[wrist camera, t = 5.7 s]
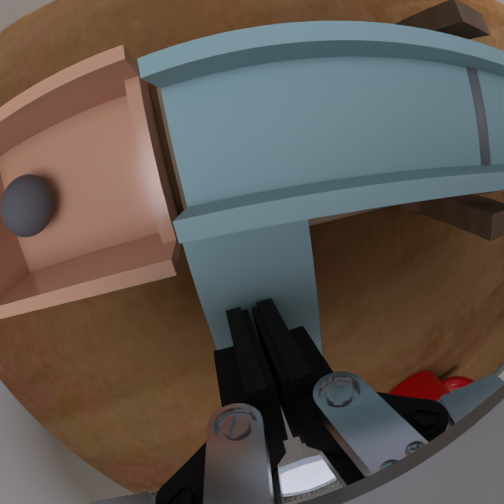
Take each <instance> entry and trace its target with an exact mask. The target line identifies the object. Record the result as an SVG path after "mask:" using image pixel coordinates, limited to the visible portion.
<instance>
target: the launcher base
mask: <svg viewBox="0 0 504 504" xmlns="http://www.w3.org/2000/svg"><path fill="white" fill-rule="evenodd" d="M396 25H404V26H411V27H417V28H422V29H428V30H433V31H437V32H442V33H446V34H450V35H454V36H458V37H462V38H465V39H472V38H477V37H482V36H487V35H490V34H489V31H488V28H487V26H486V23H485V20H484V18H483V15H482V14H481V13H480V12H478V11H476V10H474V9H473V8H471V7H469V6H467V5H465V4H463V3H461V2H459V1H457V0H449V1H446V2H443V3H441V4H438V5H436V6H433V7H431V8H429V9H426V10H424V11H422V12H420V13H417V14H415V15H413V16H411V17H409V18H407V19H404V20H402V21H400V22H398V23H396ZM156 88H157V93H158V98H159V103H160V108H161V113H162V118H163V123H164V128H165V132H166V137H167V142H168V146H169V151H170V155H171V159H172V164H173V168H174V172H175V176H176V180H177V184H178V188H179V193H180V196H181V200H182V204H183V208H184V210H185V209H186V208H187V204H186V200H185V196H184V192H183V188H182V184H181V180H180V176H179V172H178V167H177V163H176V159H175V154H174V150H173V146H172V141H171V137H170V132H169V127H168V123H167V118H166V113H165V108H164V103H163V98H162V93H161V89H160V88H158V87H156ZM392 206H396V205H392ZM397 206H400V207H403V208H406V209H409V210H412V211H415V212H418V213H421V214H424V215H426V216H429V217H432V218H435V219H437V220H440V221H443V222H445V223H448V224H451V225H453V226H456V227H458V228H461V229H463V230H466V231H468V232H471V233H473V234H475V235H478V236H480V237H483V238H485V239H487V240H489V241H491V240H493V239H495V238H498V237H500V236H502V235H504V203H502V202H498V201H495V200H492V199H488V198H485V197H481V196H478V195H474V194H468V195H460V196H453V197H446V198H439V199H432V200H425V201H418V202H411V203H405V204H398V205H397ZM387 207H391V206H385V207H379V208H373V209H366V210H360V211H354V212H348V213H342V214H336V215H330V216H324V217H318V218H313V219H308V224H309V226H311V225H315V224H319V223H323V222H327V221H332V220H336V219H340V218H344V217H348V216H353V215H357V214H361V213H365V212H370V211H374V210H378V209H383V208H387Z"/></svg>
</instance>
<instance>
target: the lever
mask: <svg viewBox="0 0 504 504" xmlns="http://www.w3.org/2000/svg"><path fill="white" fill-rule="evenodd" d="M138 66H139V72H140V78H141V79H143V80H145V81H147V82H149V83H151V84H153V85H155V86H156V87H158V88H160V89H161V93H162V98H163V103H164V108H165V113H166V118H167V123H168V127H169V132H170V137H171V141H172V146H173V150H174V154H175V159H176V163H177V167H178V172H179V176H180V180H181V184H182V188H183V192H184V196H185V200H186V204H187V208H186V209H185V210H184V211H183V212H182V213H181V214H180V215H179V216H178V217H177V218H176V219H175V220H174V221H173V224H174V228H175V231H176V235H177V238H178V242H179V244H180V243H182V244H183V247H184V251H185V254H186V258H187V261H188V264H189V268H190V271H191V274H192V277H193V280H194V284H195V287H196V290H197V293H198V296H199V299H200V302H201V305H202V308H203V311H204V314H205V317H206V320H207V323H208V326H209V329H210V332H211V335H212V337H213V340H214V343H215V346H216V349H217V350H219V349H223V348H227V347H231V346H233V341H232V337H231V333H230V329H229V324H228V320H227V315H226V310H229V309H233V308H237V307H240V308H241V310H245V309H247V310H248V312H249V315H250V318H251V321H252V323H253V326H254V329H255V332H256V334H257V337H258V333H257V329H256V325H255V321H254V317H253V313H252V307H256V306H257V305H256V302H259V301H262V300H266V299H269V298H271V299H272V300H273V302H274V304H275V306H276V308H277V309H278V311H279V313H280V315H281V317H282V319H283V320H284V322H285V324H286V326H287V328H288V329H289V330H291V329H294V328H297V327H300V326H303V327H304V328H305V329H306V331H307V332H308V334H309V335H310V337H311V339H312V340H313V342H314V343H315V345H316V346H317V348H318V350H319V351H320V353H321V354H322V344H321V331H320V319H319V309H318V298H317V289H316V280H315V271H314V262H313V254H312V246H311V239H310V232H309V224H308V219H313V218H318V217H324V216H330V215H336V214H342V213H348V212H354V211H360V210H366V209H373V208H379V207H385V206H392V205H398V204H405V203H411V202H418V201H425V200H432V199H439V198H446V197H453V196H460V195H468V194H475V193H483V194H486V193H491V192H492V191H499V190H504V51H501V50H499V49H496V48H493V47H490V46H488V45H485V44H482V43H479V42H475V41H472V40H469V39H465V38H462V37H458V36H454V35H450V34H446V33H442V32H437V31H433V30H428V29H422V28H417V27H411V26H404V25H396V24H387V23H377V22H362V21H308V22H293V23H282V24H273V25H265V26H258V27H251V28H245V29H240V30H234V31H229V32H224V33H220V34H215V35H211V36H207V37H203V38H199V39H195V40H192V41H188V42H185V43H181V44H178V45H175V46H172V47H169V48H165V49H163V50H160V51H157V52H154V53H151V54H148V55H146V56H143V57H140V58H138ZM258 340H259V337H258ZM259 342H260V341H259Z"/></svg>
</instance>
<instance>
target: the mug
mask: <svg viewBox="0 0 504 504" xmlns="http://www.w3.org/2000/svg"><path fill="white" fill-rule="evenodd" d="M473 382H475V381H473V380H472V379H469V378H467V377H462V376H454V377H449V378H446V379H443V380H442V381H440V380H439V379H438V378H437V377H436V376H435V375H434V374H433V373H432V372H431V371H427V370H426V371H421V372H418V373H416V374H414V375H412V376H410V377H408V378H407V379H405V380H404V381H402V382H401V383H400V384H398V385H397V386H396V387H395V388H394V389H393V390H392V391H391V392H390V393H389V394H392V395H399V396H406V397H414V398H422V399H430V400H434V401H437V400H440V398H441V396H443V395H445V394H448V393H450V391H449V390H450V389H455V388H457V389H459V388H462V387H464V386H466V385H468V384H470V383H473Z"/></svg>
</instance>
